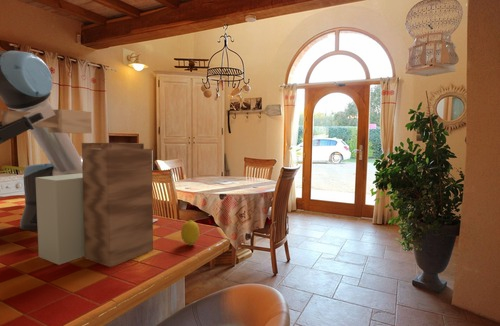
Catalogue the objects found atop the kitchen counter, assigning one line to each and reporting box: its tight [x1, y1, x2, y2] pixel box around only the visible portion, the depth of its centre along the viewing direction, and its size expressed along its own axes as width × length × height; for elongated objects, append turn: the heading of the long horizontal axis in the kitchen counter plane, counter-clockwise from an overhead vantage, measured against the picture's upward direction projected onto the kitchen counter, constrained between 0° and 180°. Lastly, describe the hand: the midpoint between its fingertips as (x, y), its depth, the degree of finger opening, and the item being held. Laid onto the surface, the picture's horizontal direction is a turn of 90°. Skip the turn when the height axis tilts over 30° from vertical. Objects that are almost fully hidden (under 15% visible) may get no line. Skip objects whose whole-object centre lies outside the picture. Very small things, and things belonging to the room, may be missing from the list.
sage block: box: [36, 173, 85, 266], centre depth 86 cm, size 10×14×22 cm
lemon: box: [180, 219, 200, 246], centre depth 94 cm, size 6×6×8 cm
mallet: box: [0, 108, 93, 134], centre depth 79 cm, size 7×19×6 cm, turn 150°
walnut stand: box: [81, 142, 154, 268], centre depth 85 cm, size 11×14×32 cm
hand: (47, 110), depth 78 cm, fingers closed on mallet, 3 cm apart
